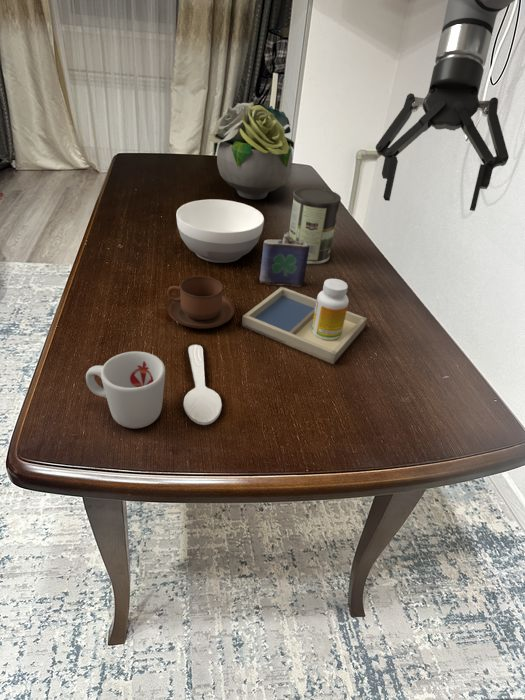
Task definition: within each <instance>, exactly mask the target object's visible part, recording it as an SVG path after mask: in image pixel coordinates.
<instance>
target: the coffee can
mask: <svg viewBox="0 0 525 700" xmlns="http://www.w3.org/2000/svg"><path fill="white" fill-rule="evenodd" d="M292 196H293V199H292V207H291V214H290V223H289V230H288V232H290V237H291V238H292V239H293V240H297V241H298V240H301V241H302V242H306V243H307V244H309V253H308V259H307V265H320V264H324V263H326V262H328V261H329V260H330V259H331V258H330V257H331V250H332V245H333V239H334V233H335V230H336V229H335V228H336V223H337V218H338V212H339V207H340V203H341V200H342V198H341V196H340V194H339V193H337V192H336V191H332V190H329V189H326V188H321V187H313V186H305V187H299V188H296V189H295V190H294V191H293V194H292ZM299 242H300V241H299Z"/></svg>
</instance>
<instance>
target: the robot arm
mask: <svg viewBox="0 0 525 700" xmlns="http://www.w3.org/2000/svg"><path fill="white" fill-rule="evenodd" d="M515 1H516V0H447V5H446V9H445V14H444V19H443V24H442V29H441V33H440V36H439V41H438V46H437V51H436V54H435V55H436V56H435V60H434V62H435V65H434V66H433V70H432V73H431V78H430V83H429V88H428V92H427V94H426V96H425V97H418V96H415V94H414V93H408V94H407V95H406V98H405V101H404V103H403V107H402V108H401V110H400V111H399V113H398V114H397V116H396V117H395V118H394V120H393V121H392V122H391V124H390V125H389V127H388V128H387V130H385V132H384V133H383V135H382V137H381V138H380V139H379V141H378V142H377V144H376V145H375V150H376V154H377V155H378V156H382V157H384V161H383V165H382V171H381V177H382V179H384V180H385V179H386V181H385V187H384V192H383V196H382V197H383V200H384V201H387V202H390V201H391V196H392V191H393V187H394V181H395V177H396V172H397V167H398V164H399V163H398V162H399V161H398V157H397V156H398V155H399V154H401V153H402V152H403V151H404V150H405V149H407V147H408V146H409V145H411V144H412V143H413V142H414V141H416V139H418V138H419V137H420V136H421V135H422V134H423V133H425V132H427V131H428V130H429V129H430V128H434V129H435V130H445V129H446V130H448V131H456V130H459V129H460V128H461V130H462V132H463V134H464V135H465V136H466V137H467V139H468V141H469V142H470V144H471V146H472V147H473V149H474V151H475V153H476V154H477V155H478V157H479V159H480V161H481V162H482V163H480V165H479V169H478V172H477V176H476V182H475V186H474V190H473V195H472V197H471V203H470V206H469V211H471V212H475V211H476V208H477V203H478V200H479V196H480V191H481V190H487V189H488V187H490V183H491V179H492V175H493V170H494V169H495V168H497V167H504V166H505V165H506V164H507V163H508V160H509V151H508V149H507V145H506V141H505V138H504V134H503V130H502V126H501V123H500V118H499V115H498V105H499V99H498V97H492V98H491V99H489V100H479V93H480V89H481V84H482V80H483V76H484V72H485V69H484V66H485V65H486V63H487V57H488V54H489V49H490V46H491V41H492V36H493V32H494V28H495V24H496V19H497V16H498V14H499V13H500V12H501V11H502V10H504V9H506V8H507V7H508V6H510V5H511V4H512V3H513V2H515ZM420 108H422V109H423V111H424V114H422V116H421V117H420V118H419V119H418V121H416V122H415V123H414V124H413V125H412V126H411V127H410V128H409V129H408V130H407V131H405V133H403V135H401V136H400V137H399V138H398V139H397V140H396V141H394V140H395V139H396V137H397V136H398V135H399V133H400V132H401V130H402V129H403V128H404V126H405V125H406V123H407V122H408V121H409V120H410V118H411V116H412V114H413V113H416V112H417V111H418V110H419V109H420ZM478 111H480V112H481V115H482V116H483V117H485V118H486V122H487V125H488V131H489V134H490V137H491V141H492V145H493V149H494V152H495V156H494V155H493V154H492V151H491V150H490V148H489V147H488V145H487V143H486V142H485V140H484V138H483V137H482V135H481V134H480V132H479V130H478V129H477V127H476V125H475V122H474V120H473V118H472V117H473V116H474V115H475V114H476V113H477V112H478ZM393 141H394V142H393Z"/></svg>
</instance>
